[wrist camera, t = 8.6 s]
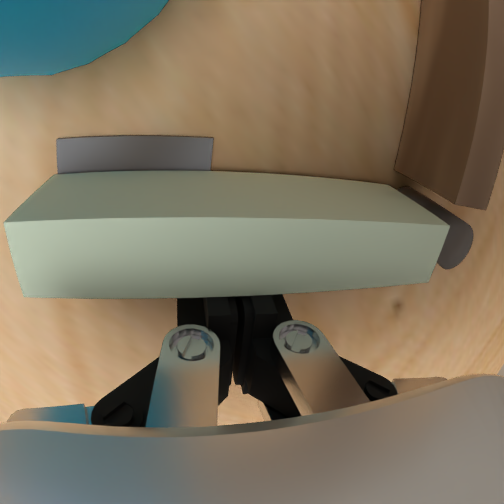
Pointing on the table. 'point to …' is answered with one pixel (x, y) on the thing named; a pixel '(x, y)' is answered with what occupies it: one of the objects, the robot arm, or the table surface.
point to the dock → (415, 127)
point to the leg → (217, 235)
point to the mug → (66, 32)
